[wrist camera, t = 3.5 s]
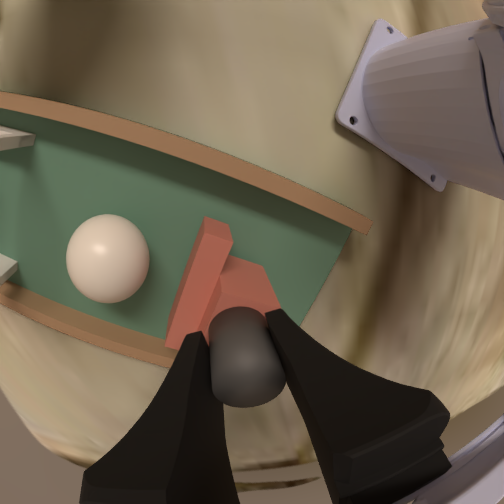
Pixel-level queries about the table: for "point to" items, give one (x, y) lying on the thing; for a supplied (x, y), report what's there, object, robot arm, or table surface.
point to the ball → (107, 258)
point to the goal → (4, 140)
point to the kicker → (228, 319)
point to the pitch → (147, 220)
